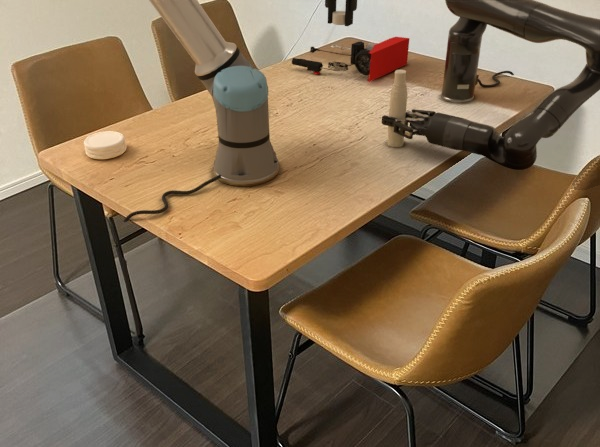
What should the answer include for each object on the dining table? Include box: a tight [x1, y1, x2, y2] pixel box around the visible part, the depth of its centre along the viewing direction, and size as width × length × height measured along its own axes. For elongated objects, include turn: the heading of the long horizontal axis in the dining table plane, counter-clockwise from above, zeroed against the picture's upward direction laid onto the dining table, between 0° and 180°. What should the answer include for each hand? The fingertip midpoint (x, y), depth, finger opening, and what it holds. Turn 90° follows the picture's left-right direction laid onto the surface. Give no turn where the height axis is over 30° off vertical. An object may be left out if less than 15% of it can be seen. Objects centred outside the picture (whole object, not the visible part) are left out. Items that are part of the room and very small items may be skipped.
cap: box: [331, 10, 345, 26], centre depth 145 cm, size 4×4×2 cm
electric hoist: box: [291, 36, 410, 82], centre depth 206 cm, size 10×27×30 cm
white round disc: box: [83, 130, 128, 160], centre depth 155 cm, size 10×10×4 cm
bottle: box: [386, 69, 408, 148], centre depth 152 cm, size 4×4×19 cm
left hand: (340, 23), depth 146 cm, fingers closed on cap, 4 cm apart
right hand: (387, 116), depth 155 cm, fingers closed on bottle, 4 cm apart
